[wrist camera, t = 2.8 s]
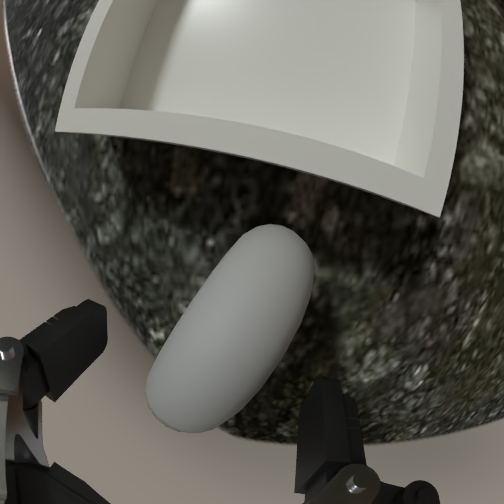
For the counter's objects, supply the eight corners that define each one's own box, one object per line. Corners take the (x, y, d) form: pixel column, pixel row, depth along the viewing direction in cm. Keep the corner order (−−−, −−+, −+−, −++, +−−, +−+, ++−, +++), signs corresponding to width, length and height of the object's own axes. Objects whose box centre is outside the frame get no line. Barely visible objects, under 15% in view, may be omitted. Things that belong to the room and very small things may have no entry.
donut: (269, 196, 15) (219, 236, 5) (322, 232, 15) (359, 328, 5) (186, 326, 18) (109, 436, 9) (230, 353, 18) (180, 477, 9)
